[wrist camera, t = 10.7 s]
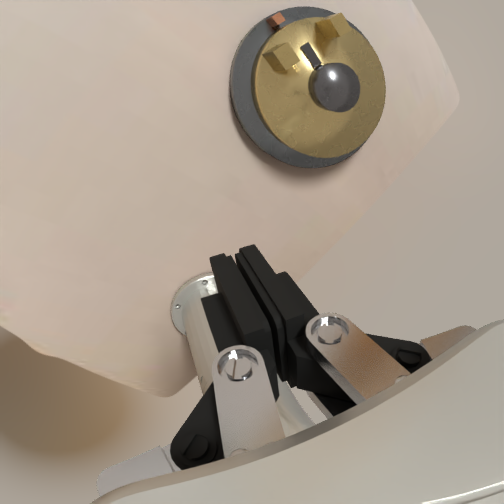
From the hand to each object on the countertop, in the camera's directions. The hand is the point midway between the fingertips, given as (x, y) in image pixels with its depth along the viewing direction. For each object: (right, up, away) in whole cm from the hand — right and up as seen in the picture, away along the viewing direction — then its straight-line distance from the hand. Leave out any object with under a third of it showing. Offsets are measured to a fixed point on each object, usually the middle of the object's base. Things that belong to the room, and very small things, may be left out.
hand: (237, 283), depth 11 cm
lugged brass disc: (+9, +22, +22) cm, 32 cm away
